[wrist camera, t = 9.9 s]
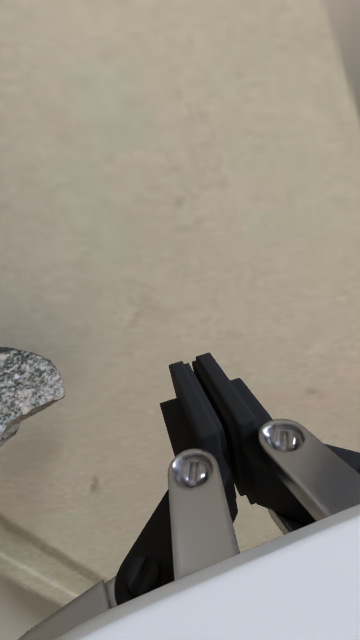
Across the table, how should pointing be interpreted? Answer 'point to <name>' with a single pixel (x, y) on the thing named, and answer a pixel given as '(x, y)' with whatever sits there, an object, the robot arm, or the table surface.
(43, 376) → the rock
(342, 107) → the table surface
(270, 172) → the table surface
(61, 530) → the table surface
